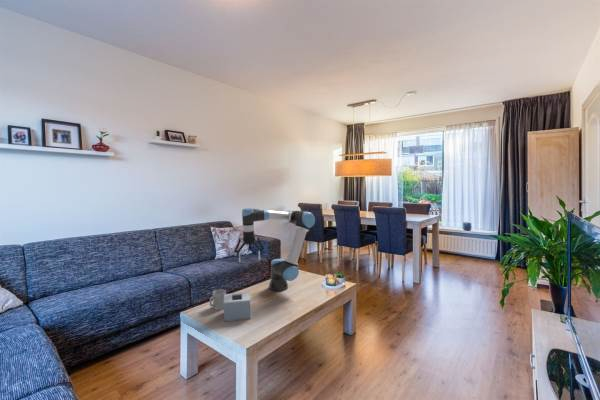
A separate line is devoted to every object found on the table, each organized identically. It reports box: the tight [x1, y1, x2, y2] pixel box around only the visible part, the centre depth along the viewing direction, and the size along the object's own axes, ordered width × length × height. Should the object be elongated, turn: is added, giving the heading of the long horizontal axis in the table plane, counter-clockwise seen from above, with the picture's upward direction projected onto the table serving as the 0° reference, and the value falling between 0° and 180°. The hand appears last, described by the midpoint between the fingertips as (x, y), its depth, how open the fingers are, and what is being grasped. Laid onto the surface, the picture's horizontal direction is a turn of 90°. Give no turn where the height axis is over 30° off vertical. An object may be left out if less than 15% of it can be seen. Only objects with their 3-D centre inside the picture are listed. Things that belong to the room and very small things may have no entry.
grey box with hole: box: [223, 291, 252, 322], centre depth 186 cm, size 16×13×12 cm
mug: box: [209, 288, 227, 311], centre depth 197 cm, size 12×8×11 cm
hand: (249, 261), depth 204 cm, fingers open, 13 cm apart
